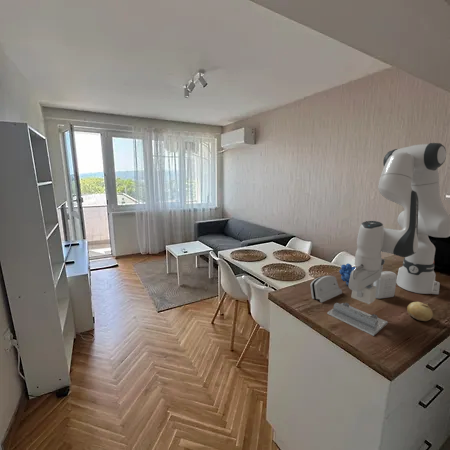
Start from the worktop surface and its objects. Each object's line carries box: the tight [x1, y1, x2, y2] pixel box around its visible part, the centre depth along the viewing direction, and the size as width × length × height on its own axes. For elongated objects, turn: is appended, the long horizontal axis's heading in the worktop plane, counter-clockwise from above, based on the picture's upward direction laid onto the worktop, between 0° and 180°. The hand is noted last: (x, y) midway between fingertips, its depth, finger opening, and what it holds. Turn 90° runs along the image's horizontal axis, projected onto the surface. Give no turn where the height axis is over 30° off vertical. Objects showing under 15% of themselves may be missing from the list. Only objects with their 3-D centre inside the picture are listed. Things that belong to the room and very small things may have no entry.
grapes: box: [338, 263, 356, 287], centre depth 124 cm, size 12×7×12 cm, turn 34°
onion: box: [406, 301, 434, 322], centre depth 97 cm, size 8×8×7 cm
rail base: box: [327, 302, 389, 337], centre depth 98 cm, size 12×18×4 cm, turn 37°
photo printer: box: [373, 270, 398, 299], centre depth 114 cm, size 10×4×12 cm, turn 103°
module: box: [350, 285, 377, 305], centre depth 99 cm, size 5×7×6 cm
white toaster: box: [309, 275, 343, 303], centre depth 117 cm, size 17×5×10 cm, turn 122°
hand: (363, 294), depth 99 cm, fingers closed on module, 5 cm apart
